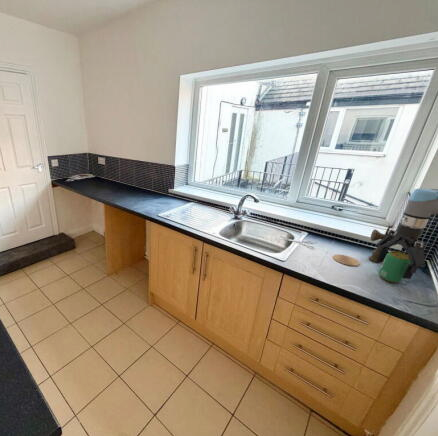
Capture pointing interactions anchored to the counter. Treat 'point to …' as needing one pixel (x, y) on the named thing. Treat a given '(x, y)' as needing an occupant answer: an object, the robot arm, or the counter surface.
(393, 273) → the beverage can
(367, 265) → the counter surface
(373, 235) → the kendama
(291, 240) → the scissors
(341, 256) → the cork coaster
